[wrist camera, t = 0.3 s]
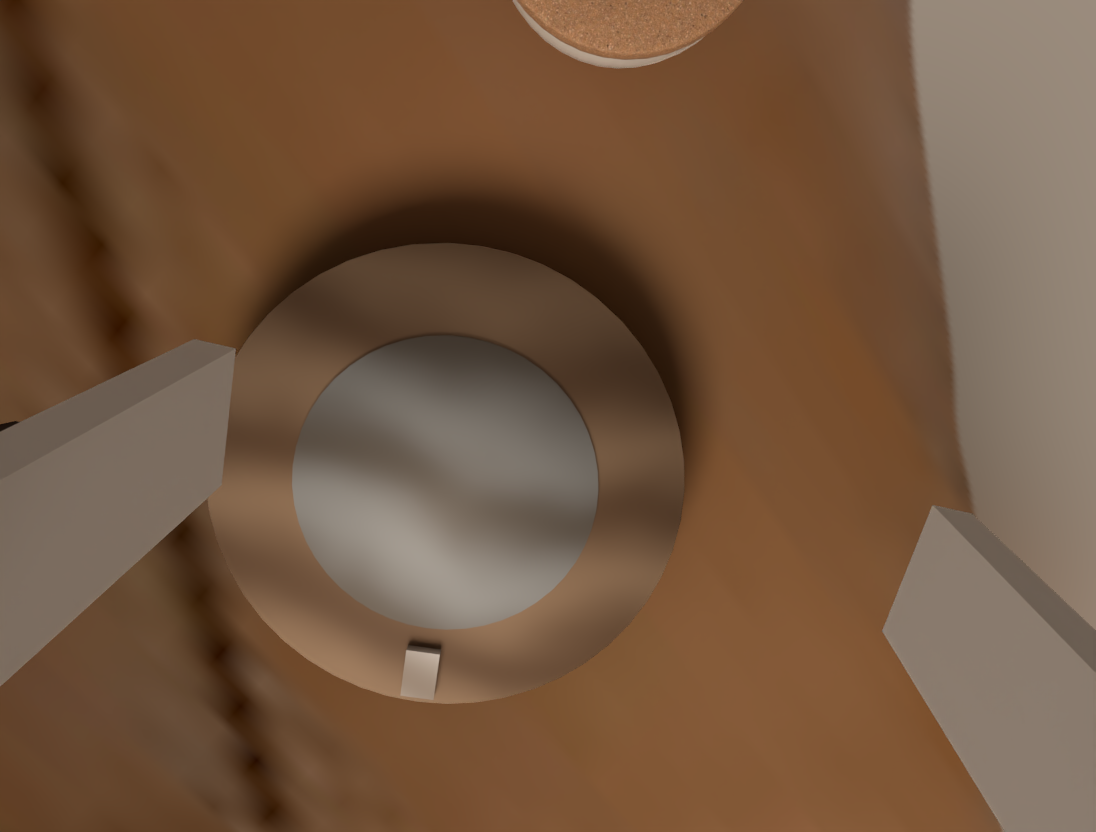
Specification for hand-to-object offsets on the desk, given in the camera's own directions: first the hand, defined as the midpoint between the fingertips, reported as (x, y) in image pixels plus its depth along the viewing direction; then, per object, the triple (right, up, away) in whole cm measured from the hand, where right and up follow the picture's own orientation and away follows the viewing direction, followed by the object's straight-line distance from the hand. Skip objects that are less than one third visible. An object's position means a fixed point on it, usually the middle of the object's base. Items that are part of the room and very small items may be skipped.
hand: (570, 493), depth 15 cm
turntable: (-5, -1, +24) cm, 25 cm away
